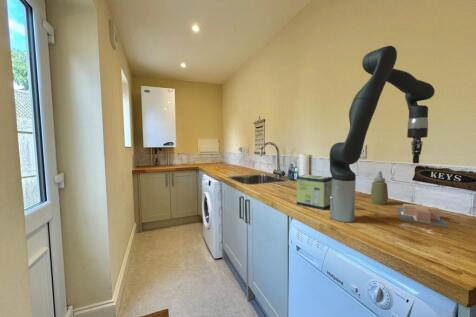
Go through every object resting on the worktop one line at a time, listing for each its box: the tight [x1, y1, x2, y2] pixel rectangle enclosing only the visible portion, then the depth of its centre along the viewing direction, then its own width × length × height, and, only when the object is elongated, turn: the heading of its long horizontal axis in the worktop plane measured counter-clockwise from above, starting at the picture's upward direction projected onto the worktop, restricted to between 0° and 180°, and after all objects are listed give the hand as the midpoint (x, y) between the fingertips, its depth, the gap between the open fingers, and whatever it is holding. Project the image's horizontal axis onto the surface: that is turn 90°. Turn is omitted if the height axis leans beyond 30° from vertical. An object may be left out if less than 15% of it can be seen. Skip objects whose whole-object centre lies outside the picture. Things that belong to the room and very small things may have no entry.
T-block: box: [402, 203, 441, 222], centre depth 90 cm, size 12×11×4 cm
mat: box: [396, 206, 450, 229], centre depth 93 cm, size 15×23×1 cm, turn 146°
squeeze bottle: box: [369, 170, 389, 206], centre depth 113 cm, size 8×8×18 cm
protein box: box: [296, 174, 332, 211], centre depth 112 cm, size 10×16×16 cm
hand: (415, 163), depth 102 cm, fingers closed
